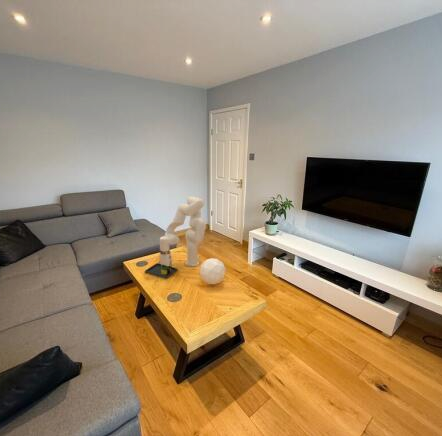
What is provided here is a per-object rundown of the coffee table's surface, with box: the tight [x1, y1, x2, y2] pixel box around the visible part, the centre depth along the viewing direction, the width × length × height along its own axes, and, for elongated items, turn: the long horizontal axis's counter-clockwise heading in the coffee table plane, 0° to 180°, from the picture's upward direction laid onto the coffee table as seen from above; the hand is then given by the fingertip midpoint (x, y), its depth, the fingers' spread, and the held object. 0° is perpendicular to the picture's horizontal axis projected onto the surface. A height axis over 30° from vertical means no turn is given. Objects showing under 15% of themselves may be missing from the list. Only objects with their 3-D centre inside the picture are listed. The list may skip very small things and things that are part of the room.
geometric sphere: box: [199, 257, 227, 286], centre depth 177 cm, size 19×20×20 cm
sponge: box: [161, 265, 171, 275], centre depth 191 cm, size 7×4×5 cm, turn 153°
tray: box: [144, 262, 178, 280], centre depth 194 cm, size 16×22×2 cm
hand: (166, 271), depth 192 cm, fingers closed on sponge, 4 cm apart
